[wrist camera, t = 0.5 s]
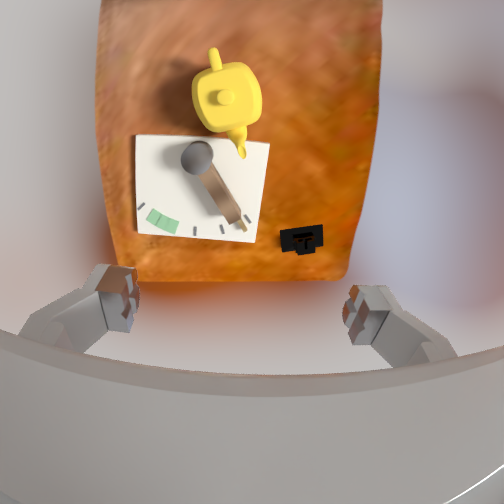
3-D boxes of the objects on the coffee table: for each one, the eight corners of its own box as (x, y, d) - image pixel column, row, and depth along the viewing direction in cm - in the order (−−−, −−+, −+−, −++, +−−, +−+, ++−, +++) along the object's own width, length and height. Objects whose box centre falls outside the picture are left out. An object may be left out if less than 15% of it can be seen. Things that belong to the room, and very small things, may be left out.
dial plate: (138, 134, 46) (135, 135, 45) (268, 142, 49) (269, 144, 47) (140, 229, 57) (137, 233, 55) (254, 239, 59) (254, 243, 58)
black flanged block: (329, 218, 58) (336, 228, 54) (329, 247, 62) (335, 259, 58) (270, 226, 59) (273, 237, 55) (274, 256, 62) (277, 268, 58)
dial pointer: (180, 149, 47) (174, 155, 43) (204, 135, 46) (201, 139, 42) (234, 234, 56) (234, 246, 52) (257, 223, 55) (258, 234, 51)
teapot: (272, 139, 49) (280, 150, 39) (212, 154, 50) (207, 170, 40) (246, 46, 39) (248, 34, 30) (184, 64, 40) (170, 57, 31)
